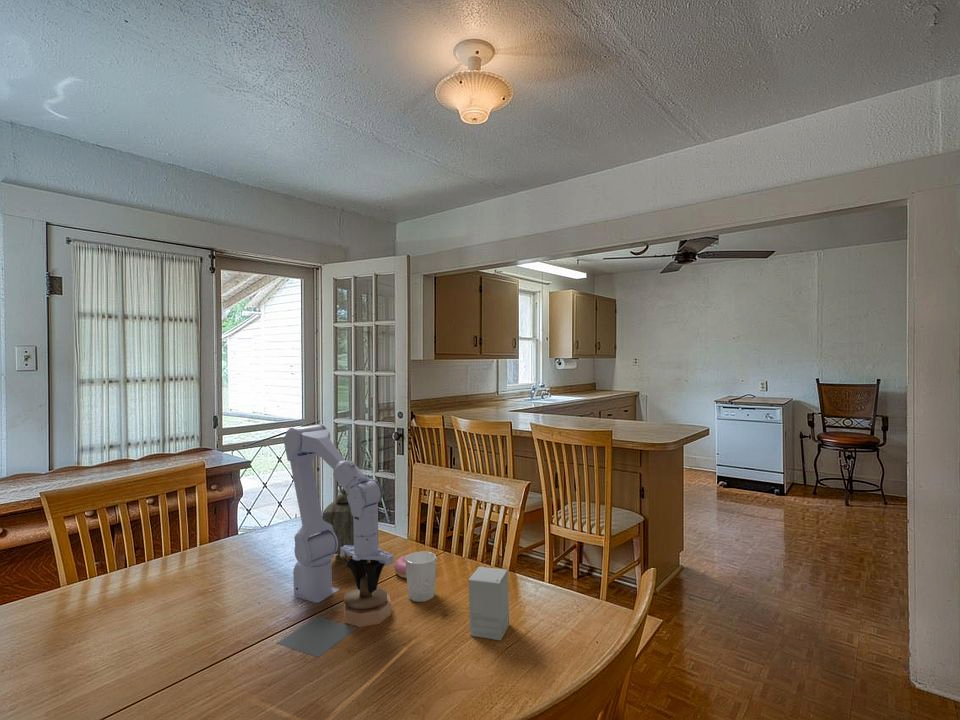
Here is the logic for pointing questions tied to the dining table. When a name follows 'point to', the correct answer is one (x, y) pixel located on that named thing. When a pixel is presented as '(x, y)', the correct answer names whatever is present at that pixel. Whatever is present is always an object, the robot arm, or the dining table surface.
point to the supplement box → (489, 603)
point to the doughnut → (401, 566)
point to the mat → (317, 636)
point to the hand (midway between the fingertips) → (367, 589)
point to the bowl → (367, 614)
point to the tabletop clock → (341, 521)
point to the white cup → (421, 575)
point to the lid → (364, 596)
